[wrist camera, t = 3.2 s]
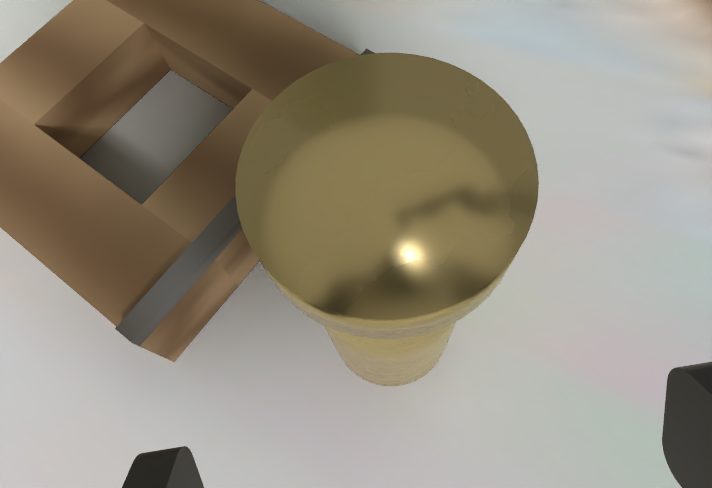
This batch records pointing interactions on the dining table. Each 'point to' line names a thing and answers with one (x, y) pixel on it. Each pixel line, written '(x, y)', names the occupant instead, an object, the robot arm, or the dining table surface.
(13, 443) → the dining table surface
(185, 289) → the jig
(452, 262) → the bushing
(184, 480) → the robot arm
